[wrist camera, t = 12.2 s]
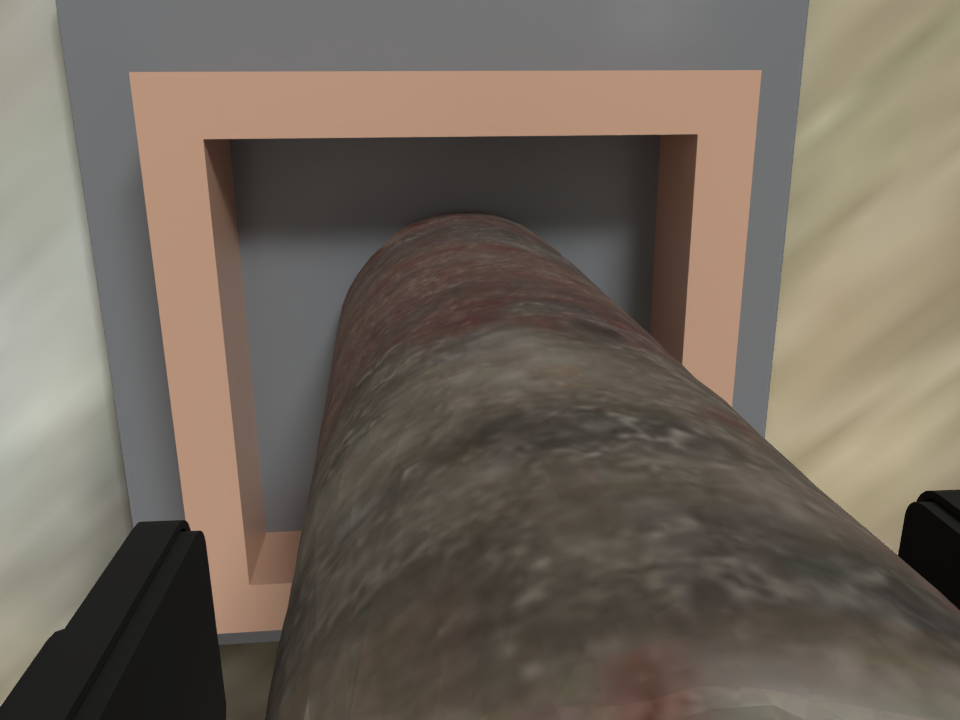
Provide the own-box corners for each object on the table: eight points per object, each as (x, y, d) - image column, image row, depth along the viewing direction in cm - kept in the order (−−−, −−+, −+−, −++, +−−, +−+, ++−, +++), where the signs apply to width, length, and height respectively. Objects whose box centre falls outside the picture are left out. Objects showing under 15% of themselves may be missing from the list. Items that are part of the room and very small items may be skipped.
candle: (628, 384, 25) (1367, 1245, 6) (422, 494, 25) (490, 1632, 6) (517, 162, 23) (1129, 391, 4) (292, 287, 23) (-220, 1082, 4)
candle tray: (794, -15, 23) (872, -42, 19) (735, 595, 29) (786, 667, 25) (67, -20, 21) (-6, -50, 17) (160, 630, 27) (120, 714, 23)
